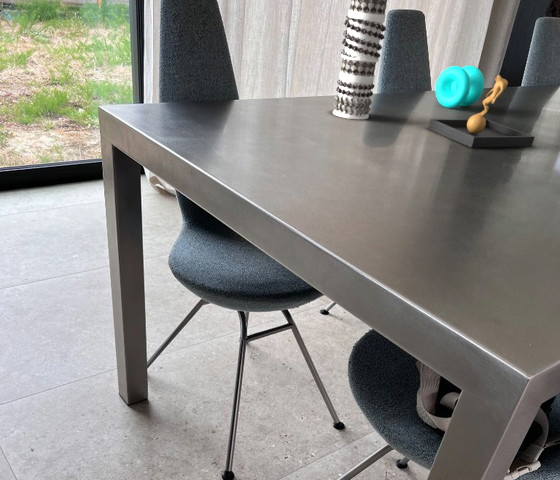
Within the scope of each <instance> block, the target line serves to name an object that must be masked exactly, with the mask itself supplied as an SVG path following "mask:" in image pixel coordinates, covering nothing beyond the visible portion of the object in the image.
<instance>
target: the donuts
mask: <svg viewBox="0 0 560 480" xmlns="http://www.w3.org/2000/svg"><path fill="white" fill-rule="evenodd" d="M434 88H435V89H434V90H435V96H436V99H437V101H438V103H439V104H440V105H441V106H443V107H445V108H448V109H453V108H457V107H469V106H473V105H474V104H475V103H477V101H478V100H479V99H480V98H481V96H482V95H483V92H484V90H485V89H484V88H485V78H484V74H483V72H482V71H481V70H480V69H479V68H478V67H476V66H475V65H465V66H462V67H461V66H458V65H453V66H448V67H447V68H445V69H443V71H442V72H441V73H440V74H439V76H438V77H437V80H436V83H435V87H434Z"/></svg>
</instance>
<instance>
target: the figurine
mask: <svg viewBox="0 0 560 480" xmlns="http://www.w3.org/2000/svg"><path fill="white" fill-rule="evenodd" d="M494 80H495V83H494V85H493V88H492V89H490V90H489V92H488V93H486V95H485V97H486V98H484V99H483V100H482V105H483V108H484V109H483V110H482V111H481V112H478V113H476V114H473V115H471V116H470V117H469V118H468V119H469V120H468V122H467V129H468V130H469V132H471V133H473V134H477V133H480V132H481V131H482V130H483V129H484V128H485V125H486V120H487V119H486V118H485V115H486V114H487V113H488V112H489V110H490V107H489V104H494V103H495V102H496V101H497V98H499V97H500V96H501V95H502V93H503V91H504V90H505V89H506V88H507V86H508V84H509V82H508V80H507V79H505V78H503V77H502V76H501V75H500V74H498V75H497V76H496V77H495V78H494Z"/></svg>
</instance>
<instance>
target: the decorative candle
mask: <svg viewBox="0 0 560 480" xmlns="http://www.w3.org/2000/svg"><path fill="white" fill-rule="evenodd" d="M387 3H388V0H351V1H350V7H349V10H348V13H347V14H348V15H346V16H345V17H346V18H347V19H345V20H344V22H343V25H344V26H345V28H346V29H345V30H344V31H343V33H342V36H343V37H344V38H343V39H342V41H341V44H342V45H343V46H344V48H343V49H341V52H340V53H341V56H340V58H342V61H341V67H340V68H341V69H340V71H339V77H338V78H339V79H337V81H336V84H337V85H338V86H337V87H336V88H335V91H336V92H337V94H336V95H335V96H334V101H335V102H334V103H333V108H334V109H333V111H332V114H333V115H334V116H337V117H340V118H344V119H349V120H367V119H369V113H370V111H371V107H370V106H371V105H372V102H373V101H372V99H371V97H372V96H373V95H374V92H373V91H372V90H373V89H374V88H375V84H374V82H375V77H376V75H375V71H376V65H377V63H378V62H379V61H380V58H381V54H380V53H379V51H381V50H382V49H383V46H382V45H381V44H380V41H382V40H384V39H385V35H384V34H383V33H384V32H385V31H386V30H387V27H386V26H385V25H384V24H385V22H386V17H387V16H386V15H387V14H386V11H387V10H386V9H387Z"/></svg>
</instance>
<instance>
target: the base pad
mask: <svg viewBox="0 0 560 480" xmlns="http://www.w3.org/2000/svg"><path fill="white" fill-rule="evenodd" d="M468 120H469V118H467V119H461V118H447V119H446V118H430V119H429V123H428V128H427V129H428V130H430V131H431V132H435V133H437V134H439V135H441V136H444V137H446V138H448V139H450V140H452V141H455V142H457V143H460V144H462V145H464V146H466V147H468V148H471V149H473V148H478V149H479V148H480V149H481V148H525V147H526V148H528V147H530V148H531V147H532V146H533V144H534V141H535V137H536V136H535V135H531V134H528V133H525V132H523V131H521V130H518V129H516V128H513V127H510V126H507V125H504V124H502V123H499V122H496V121H493V120H491V119H485V120H486V125H485V128H484V129H483V130H482V131H481V132H480V133H477V134H473V133H471V132H469V130H468V129H467V122H468Z"/></svg>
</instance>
